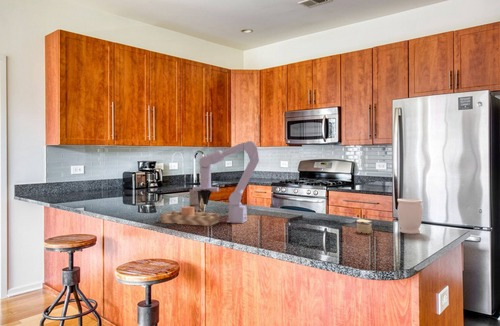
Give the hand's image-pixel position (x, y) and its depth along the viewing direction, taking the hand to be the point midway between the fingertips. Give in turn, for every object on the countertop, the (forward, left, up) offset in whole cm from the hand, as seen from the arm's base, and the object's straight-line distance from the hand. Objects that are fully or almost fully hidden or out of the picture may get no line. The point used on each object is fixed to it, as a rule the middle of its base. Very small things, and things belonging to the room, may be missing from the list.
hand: (205, 204), depth 199 cm
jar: (-101, -4, -10) cm, 102 cm away
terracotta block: (+9, +4, -6) cm, 11 cm away
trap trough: (+8, +4, -9) cm, 13 cm away
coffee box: (+13, -15, -10) cm, 22 cm away
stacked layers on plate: (-81, +2, -10) cm, 82 cm away
